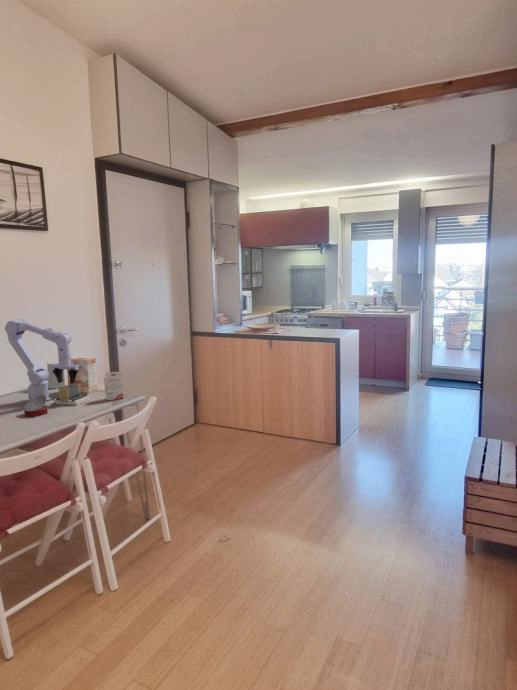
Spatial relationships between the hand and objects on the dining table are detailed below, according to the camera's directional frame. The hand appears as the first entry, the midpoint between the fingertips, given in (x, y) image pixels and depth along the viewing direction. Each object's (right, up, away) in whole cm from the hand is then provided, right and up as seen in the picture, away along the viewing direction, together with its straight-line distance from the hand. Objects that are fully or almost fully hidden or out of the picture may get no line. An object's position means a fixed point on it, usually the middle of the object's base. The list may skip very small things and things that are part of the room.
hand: (66, 382), depth 235 cm
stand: (+4, -10, -1) cm, 10 cm away
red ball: (-5, -13, -22) cm, 26 cm away
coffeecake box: (+1, -7, +21) cm, 22 cm away
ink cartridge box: (+24, -9, +4) cm, 26 cm away
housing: (+3, -8, -3) cm, 9 cm away
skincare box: (-18, -6, +30) cm, 36 cm away
